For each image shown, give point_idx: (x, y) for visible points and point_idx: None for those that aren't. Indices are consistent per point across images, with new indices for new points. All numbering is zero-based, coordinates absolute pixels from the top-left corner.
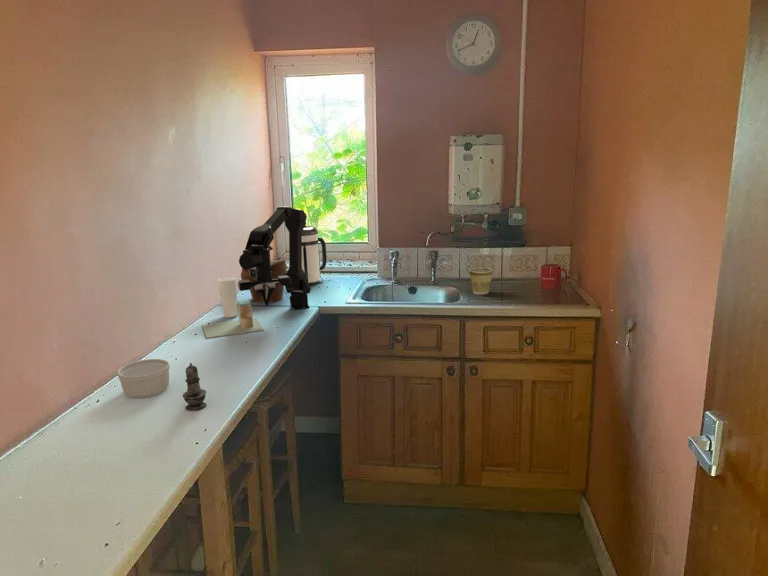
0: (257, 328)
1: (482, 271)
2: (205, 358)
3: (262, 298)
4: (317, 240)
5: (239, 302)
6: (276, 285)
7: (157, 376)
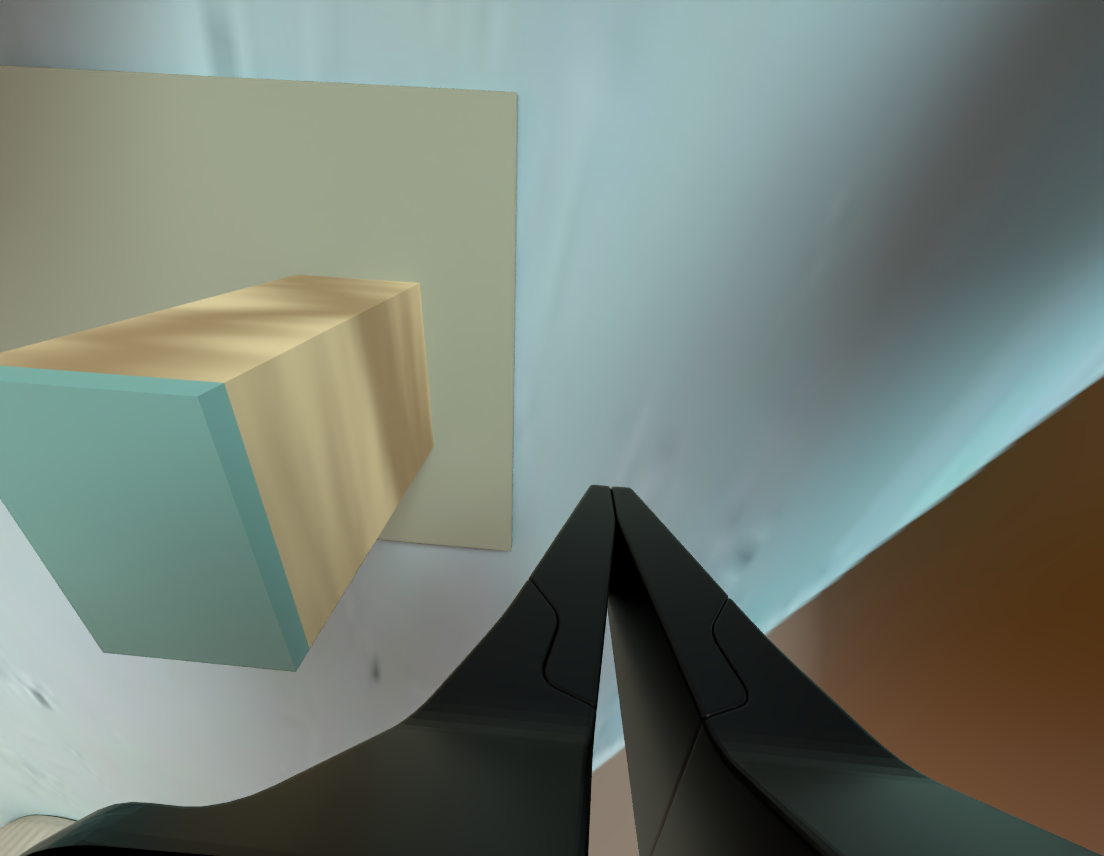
0: (466, 506)
1: None
2: (190, 745)
3: (546, 552)
4: None
5: (44, 537)
6: None
7: None
